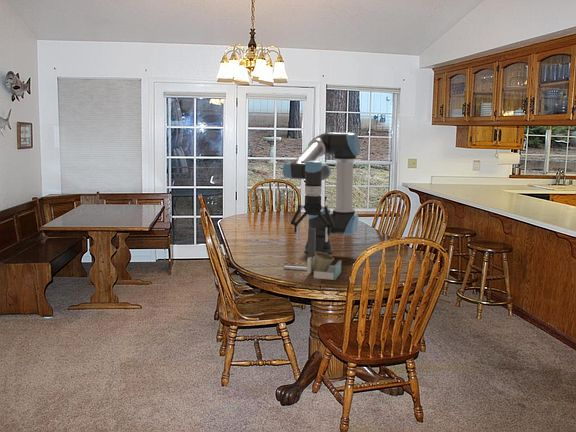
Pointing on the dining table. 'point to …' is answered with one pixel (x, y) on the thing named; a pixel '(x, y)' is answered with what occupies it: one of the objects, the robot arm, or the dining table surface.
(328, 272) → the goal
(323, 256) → the flower pot
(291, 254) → the dining table surface
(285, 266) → the track
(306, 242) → the robot arm
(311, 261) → the paddle
